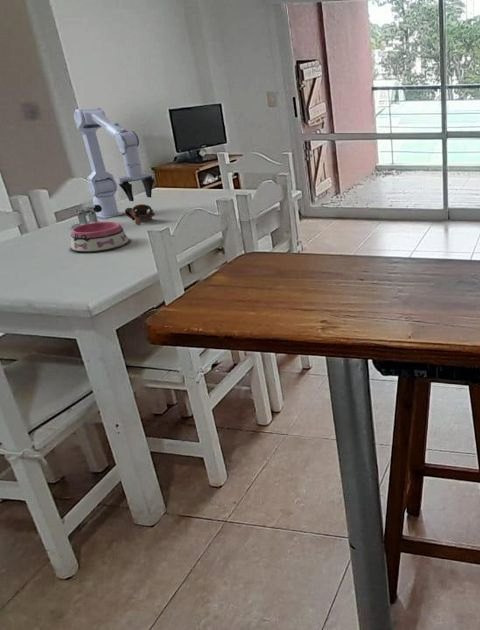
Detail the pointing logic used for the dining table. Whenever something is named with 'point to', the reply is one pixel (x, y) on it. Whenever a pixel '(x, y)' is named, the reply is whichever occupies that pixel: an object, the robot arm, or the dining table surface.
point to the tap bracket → (83, 217)
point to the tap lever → (96, 208)
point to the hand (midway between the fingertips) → (140, 199)
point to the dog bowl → (98, 237)
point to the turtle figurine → (139, 213)
